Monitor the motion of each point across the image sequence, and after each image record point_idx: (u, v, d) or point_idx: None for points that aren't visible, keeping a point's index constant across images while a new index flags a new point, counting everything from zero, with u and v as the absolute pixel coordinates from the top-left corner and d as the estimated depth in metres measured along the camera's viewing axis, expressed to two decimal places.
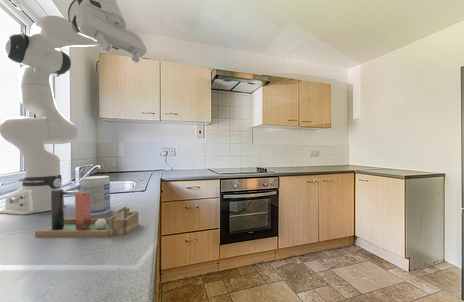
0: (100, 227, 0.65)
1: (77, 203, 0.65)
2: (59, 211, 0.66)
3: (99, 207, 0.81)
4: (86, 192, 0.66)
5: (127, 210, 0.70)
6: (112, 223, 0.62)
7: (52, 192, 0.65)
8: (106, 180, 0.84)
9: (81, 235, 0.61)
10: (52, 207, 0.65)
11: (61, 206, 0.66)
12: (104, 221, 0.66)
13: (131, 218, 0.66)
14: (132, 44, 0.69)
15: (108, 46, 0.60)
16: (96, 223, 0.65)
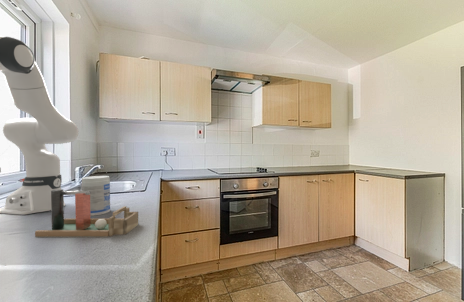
0: (100, 227, 0.65)
1: (77, 203, 0.65)
2: (59, 211, 0.66)
3: (99, 207, 0.81)
4: (86, 192, 0.66)
5: (127, 210, 0.70)
6: (112, 223, 0.62)
7: (52, 192, 0.65)
8: (106, 180, 0.84)
9: (81, 235, 0.61)
10: (52, 207, 0.65)
11: (61, 206, 0.66)
12: (104, 221, 0.66)
13: (131, 218, 0.66)
14: None
15: None
16: (96, 223, 0.65)
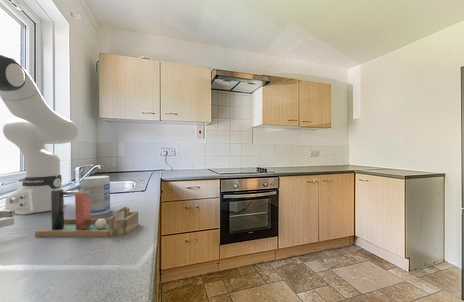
0: (100, 227, 0.65)
1: (77, 203, 0.65)
2: (59, 211, 0.66)
3: (99, 207, 0.81)
4: (86, 192, 0.66)
5: (127, 210, 0.70)
6: (112, 223, 0.62)
7: (52, 192, 0.65)
8: (106, 180, 0.84)
9: (81, 235, 0.61)
10: (52, 207, 0.65)
11: (61, 206, 0.66)
12: (104, 221, 0.66)
13: (131, 218, 0.66)
14: None
15: None
16: (96, 223, 0.65)
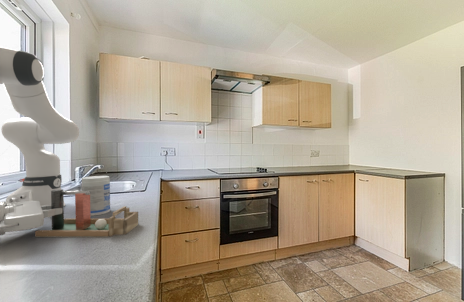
0: (100, 227, 0.65)
1: (77, 203, 0.65)
2: None
3: (99, 207, 0.81)
4: (86, 192, 0.66)
5: (127, 210, 0.70)
6: (112, 223, 0.62)
7: (52, 192, 0.65)
8: (106, 180, 0.84)
9: (81, 235, 0.61)
10: (52, 207, 0.65)
11: (61, 206, 0.66)
12: (104, 221, 0.66)
13: (131, 218, 0.66)
14: None
15: None
16: (96, 223, 0.65)
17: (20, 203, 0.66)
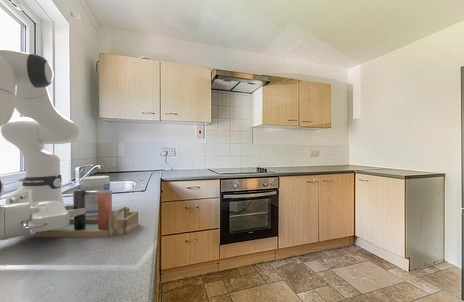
0: None
1: (100, 203, 0.65)
2: None
3: None
4: (108, 192, 0.66)
5: (127, 210, 0.70)
6: (112, 223, 0.62)
7: (75, 192, 0.65)
8: (106, 180, 0.84)
9: (81, 235, 0.61)
10: (74, 207, 0.65)
11: (83, 206, 0.66)
12: None
13: (131, 218, 0.66)
14: None
15: None
16: None
17: (42, 203, 0.66)
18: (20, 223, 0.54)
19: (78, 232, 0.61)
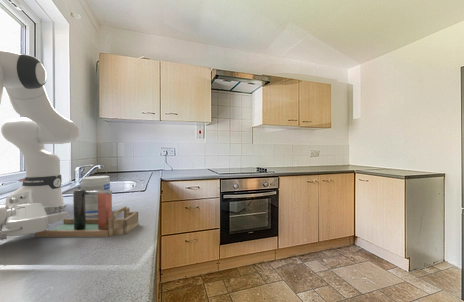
0: None
1: (100, 203, 0.65)
2: (81, 211, 0.66)
3: None
4: (108, 192, 0.66)
5: (127, 210, 0.70)
6: (112, 223, 0.62)
7: (75, 192, 0.65)
8: (106, 180, 0.84)
9: (81, 235, 0.61)
10: (74, 207, 0.65)
11: (83, 206, 0.66)
12: None
13: (131, 218, 0.66)
14: None
15: None
16: None
17: (22, 205, 0.63)
18: None
19: (78, 232, 0.61)
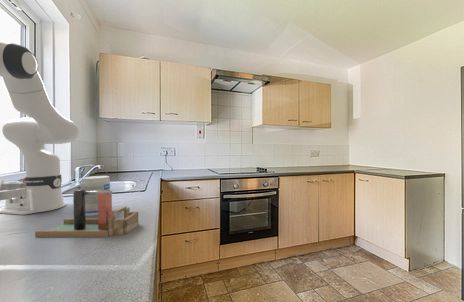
0: None
1: (100, 203, 0.65)
2: (81, 211, 0.66)
3: None
4: (108, 192, 0.66)
5: (127, 210, 0.70)
6: (112, 223, 0.62)
7: (75, 192, 0.65)
8: (106, 180, 0.84)
9: (81, 235, 0.61)
10: (74, 207, 0.65)
11: (83, 206, 0.66)
12: None
13: (131, 218, 0.66)
14: None
15: None
16: None
17: None
18: None
19: (78, 232, 0.61)
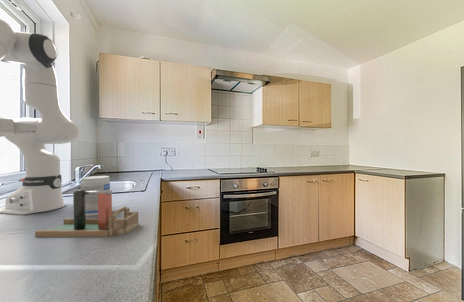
0: None
1: (100, 203, 0.65)
2: (81, 211, 0.66)
3: None
4: (108, 192, 0.66)
5: (127, 210, 0.70)
6: (112, 223, 0.62)
7: (75, 192, 0.65)
8: (106, 180, 0.84)
9: (81, 235, 0.61)
10: (74, 207, 0.65)
11: (83, 206, 0.66)
12: None
13: (131, 218, 0.66)
14: (12, 133, 0.58)
15: (34, 132, 0.68)
16: None
17: None
18: None
19: (78, 232, 0.61)
